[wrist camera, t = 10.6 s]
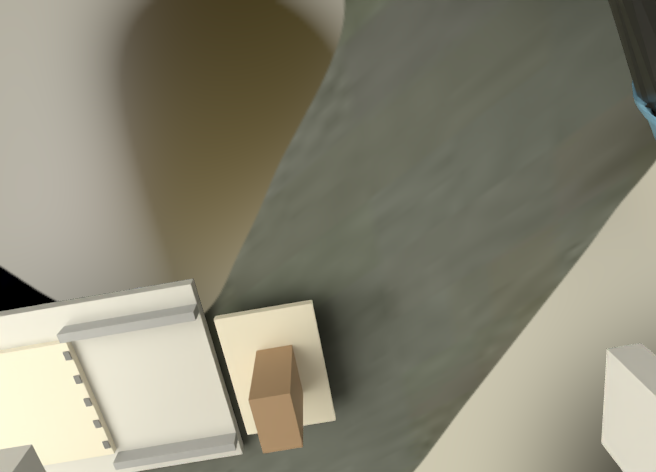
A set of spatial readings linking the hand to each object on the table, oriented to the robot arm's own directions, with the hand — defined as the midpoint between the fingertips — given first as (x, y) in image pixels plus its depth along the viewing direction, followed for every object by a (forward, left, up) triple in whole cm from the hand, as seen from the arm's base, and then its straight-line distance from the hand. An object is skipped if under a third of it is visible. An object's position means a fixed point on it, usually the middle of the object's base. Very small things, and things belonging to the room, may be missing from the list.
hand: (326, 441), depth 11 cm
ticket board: (+23, +16, -27) cm, 39 cm away
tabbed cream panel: (+6, +16, -25) cm, 31 cm away
